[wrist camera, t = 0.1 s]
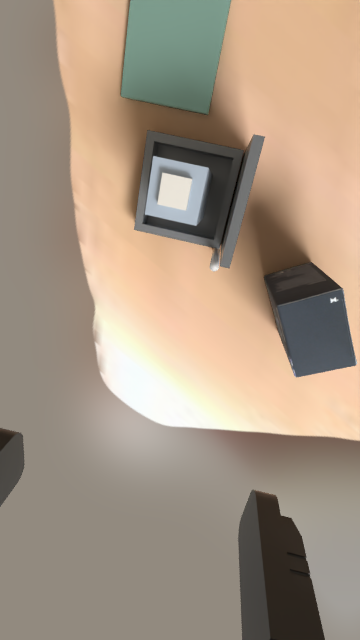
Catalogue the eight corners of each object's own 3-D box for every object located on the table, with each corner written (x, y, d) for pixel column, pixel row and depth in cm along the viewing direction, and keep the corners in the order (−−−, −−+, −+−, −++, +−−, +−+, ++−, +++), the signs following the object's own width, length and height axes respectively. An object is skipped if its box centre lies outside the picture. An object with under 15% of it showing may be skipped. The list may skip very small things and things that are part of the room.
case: (153, 134, 32) (119, 106, 22) (251, 155, 31) (264, 136, 21) (138, 236, 36) (105, 251, 26) (225, 255, 36) (226, 279, 26)
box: (262, 275, 36) (276, 305, 26) (311, 260, 35) (345, 286, 25) (277, 333, 38) (295, 380, 29) (324, 322, 37) (359, 366, 27)
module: (171, 166, 32) (151, 154, 24) (212, 174, 32) (207, 167, 23) (164, 209, 34) (143, 214, 25) (202, 218, 34) (195, 226, 25)
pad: (134, -21, 27) (132, -25, 27) (231, -3, 27) (231, -7, 27) (122, 97, 31) (120, 95, 31) (208, 114, 31) (207, 113, 30)
